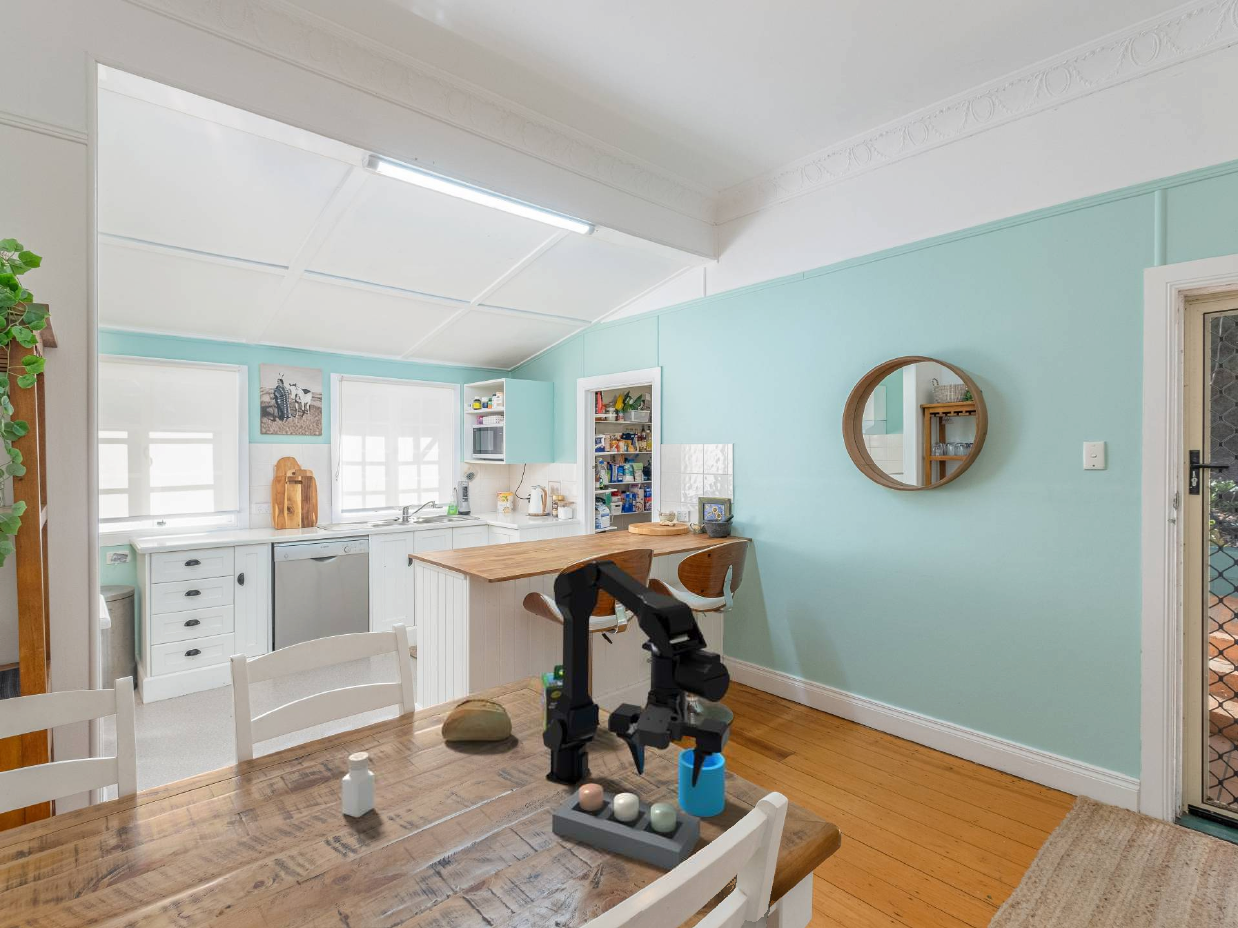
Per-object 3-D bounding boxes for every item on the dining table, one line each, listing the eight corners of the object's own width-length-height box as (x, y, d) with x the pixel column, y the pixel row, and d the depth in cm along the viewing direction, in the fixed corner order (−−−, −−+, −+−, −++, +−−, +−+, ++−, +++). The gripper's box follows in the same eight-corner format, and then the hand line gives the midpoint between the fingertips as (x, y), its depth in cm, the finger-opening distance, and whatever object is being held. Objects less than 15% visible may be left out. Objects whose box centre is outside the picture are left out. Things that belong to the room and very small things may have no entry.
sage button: (646, 827, 98) (646, 812, 98) (656, 815, 102) (656, 800, 102) (670, 834, 97) (670, 819, 97) (679, 821, 100) (679, 806, 100)
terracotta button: (574, 806, 104) (575, 792, 104) (586, 795, 108) (586, 781, 108) (596, 813, 102) (596, 798, 102) (607, 801, 106) (607, 787, 106)
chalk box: (579, 718, 148) (580, 655, 148) (586, 734, 139) (587, 668, 139) (540, 721, 146) (541, 658, 146) (545, 738, 137) (545, 671, 137)
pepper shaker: (375, 808, 109) (376, 753, 109) (357, 819, 105) (357, 763, 105) (358, 802, 111) (359, 748, 111) (340, 814, 107) (340, 758, 107)
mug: (730, 815, 108) (731, 768, 108) (684, 818, 107) (684, 770, 107) (711, 780, 120) (712, 737, 120) (669, 782, 119) (670, 739, 119)
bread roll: (443, 731, 140) (444, 695, 140) (511, 726, 143) (511, 691, 143) (439, 751, 131) (439, 712, 131) (512, 745, 133) (512, 708, 133)
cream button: (609, 817, 101) (609, 802, 101) (620, 805, 105) (620, 790, 105) (632, 823, 100) (632, 808, 100) (642, 811, 103) (642, 796, 103)
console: (552, 832, 103) (552, 813, 103) (582, 802, 112) (582, 785, 112) (678, 872, 93) (678, 852, 93) (700, 836, 102) (700, 818, 102)
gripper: (593, 690, 96) (592, 791, 96) (712, 711, 89) (710, 820, 89) (622, 668, 106) (621, 759, 106) (730, 685, 99) (729, 783, 99)
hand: (667, 780), depth 100 cm, fingers open, 9 cm apart
